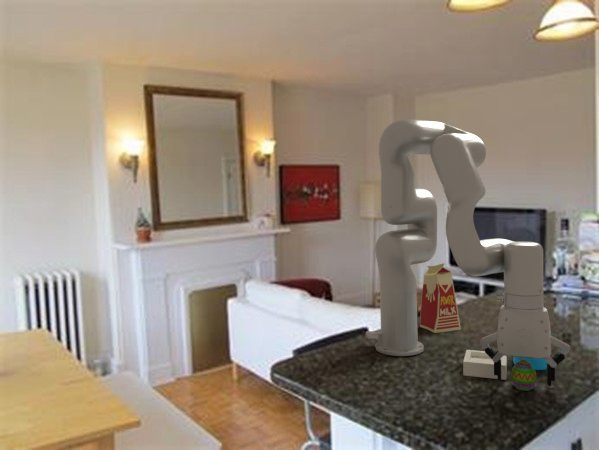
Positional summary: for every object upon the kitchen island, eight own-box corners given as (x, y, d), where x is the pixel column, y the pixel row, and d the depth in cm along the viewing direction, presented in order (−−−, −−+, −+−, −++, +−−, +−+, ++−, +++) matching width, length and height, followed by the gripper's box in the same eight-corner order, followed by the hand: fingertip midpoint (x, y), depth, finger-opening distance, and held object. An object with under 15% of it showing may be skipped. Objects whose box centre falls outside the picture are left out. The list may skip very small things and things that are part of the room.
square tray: (463, 375, 117) (463, 361, 117) (466, 362, 126) (466, 349, 125) (506, 379, 114) (506, 365, 114) (506, 366, 122) (506, 353, 122)
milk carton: (461, 329, 154) (460, 262, 153) (435, 333, 151) (434, 265, 149) (442, 322, 163) (441, 259, 161) (417, 326, 159) (416, 261, 158)
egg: (506, 387, 109) (506, 360, 109) (517, 381, 113) (517, 354, 112) (529, 394, 106) (530, 365, 105) (540, 387, 109) (540, 359, 109)
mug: (550, 372, 118) (550, 336, 117) (511, 367, 122) (511, 333, 121) (552, 356, 128) (552, 323, 128) (516, 352, 132) (516, 320, 132)
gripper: (478, 302, 108) (479, 383, 109) (572, 307, 101) (571, 393, 102) (480, 295, 115) (481, 371, 116) (568, 299, 108) (568, 379, 109)
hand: (523, 381), depth 109 cm, fingers open, 9 cm apart
